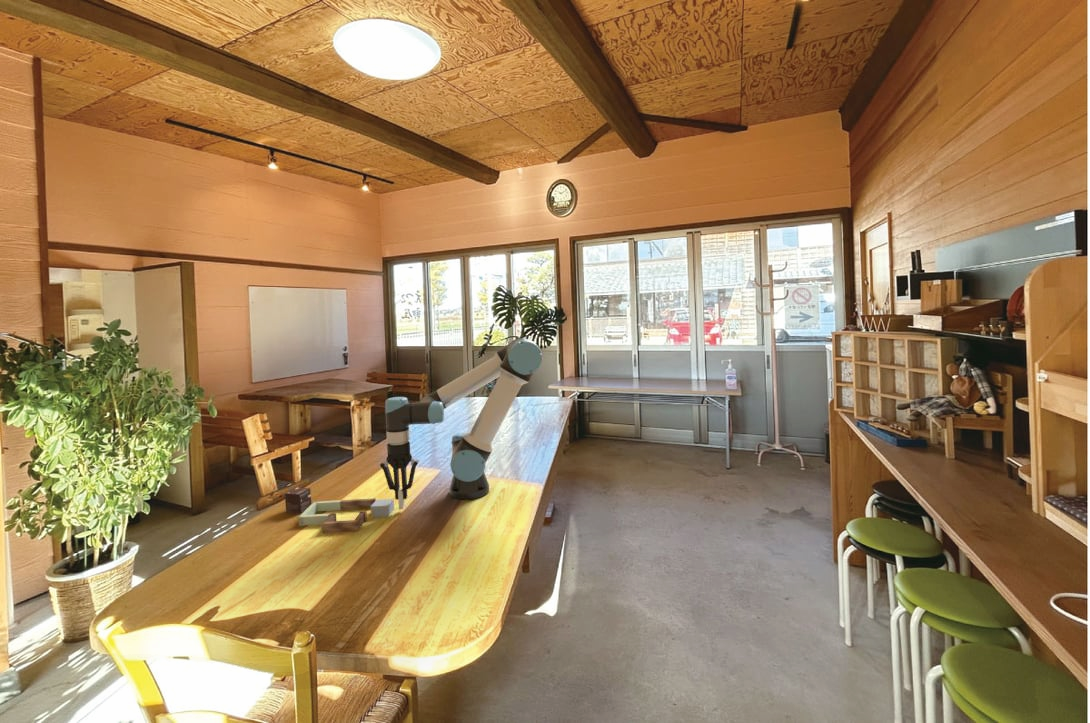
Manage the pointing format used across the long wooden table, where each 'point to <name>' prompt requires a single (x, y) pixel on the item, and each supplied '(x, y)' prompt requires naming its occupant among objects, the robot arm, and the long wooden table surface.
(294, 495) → the box
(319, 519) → the bay
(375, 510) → the grey square block
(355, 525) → the open corridor walls
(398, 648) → the long wooden table surface
